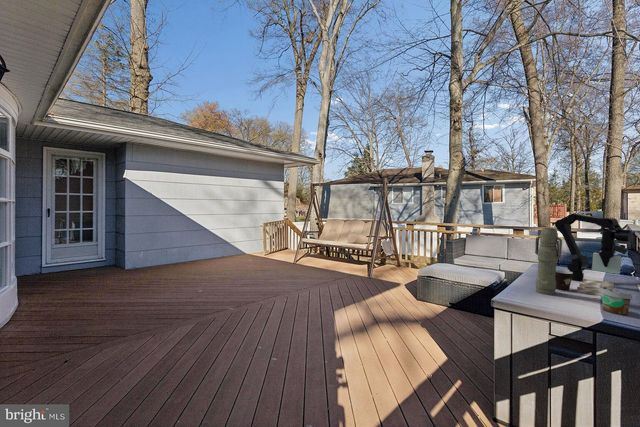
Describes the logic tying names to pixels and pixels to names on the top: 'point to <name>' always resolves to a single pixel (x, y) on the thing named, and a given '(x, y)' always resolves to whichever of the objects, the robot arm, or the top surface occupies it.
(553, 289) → the thermos
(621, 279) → the top surface
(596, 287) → the offcut stack
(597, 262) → the green board
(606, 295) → the food container
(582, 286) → the rack
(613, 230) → the robot arm
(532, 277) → the top surface
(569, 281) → the coffee mug
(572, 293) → the top surface
